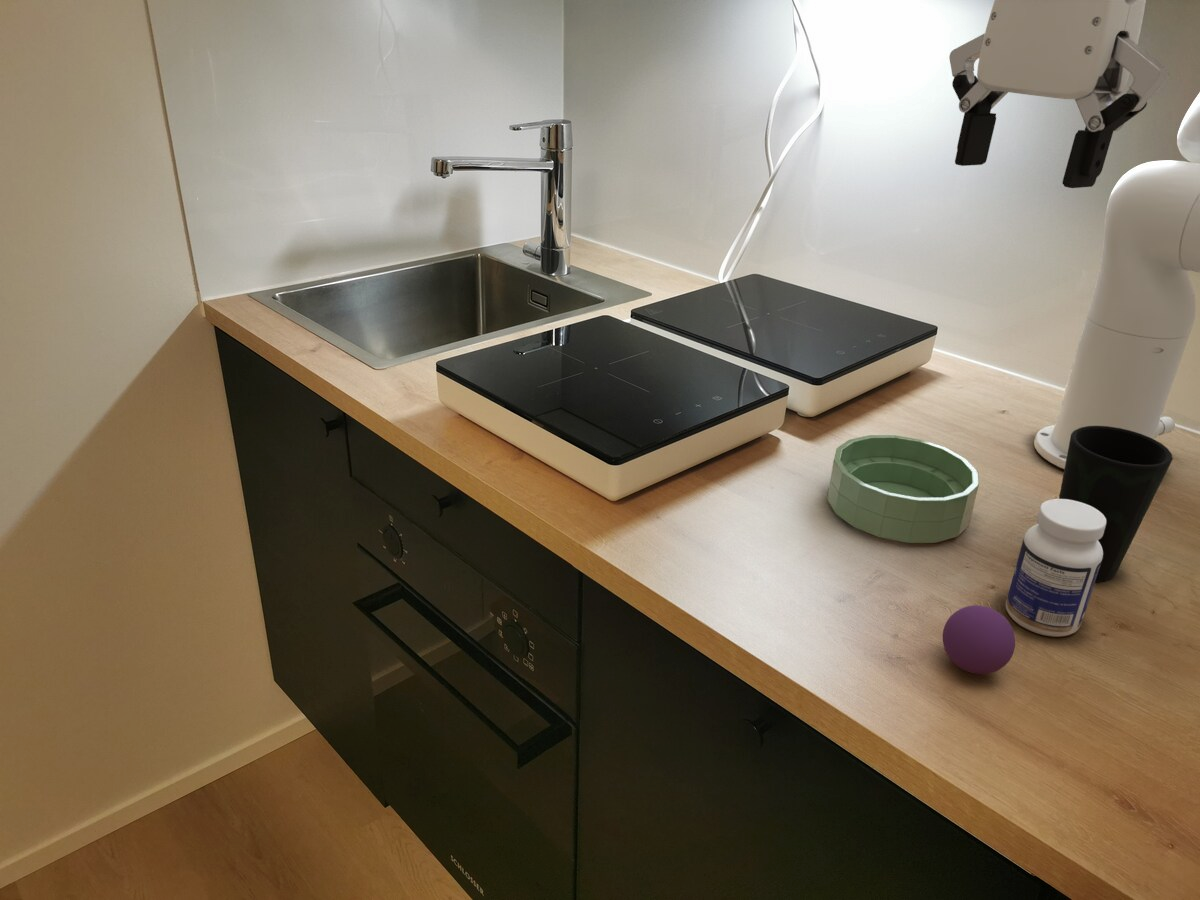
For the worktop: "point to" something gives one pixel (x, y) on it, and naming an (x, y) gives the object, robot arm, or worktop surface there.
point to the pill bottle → (1057, 568)
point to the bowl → (902, 488)
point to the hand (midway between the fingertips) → (1021, 175)
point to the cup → (1114, 483)
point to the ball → (978, 639)
